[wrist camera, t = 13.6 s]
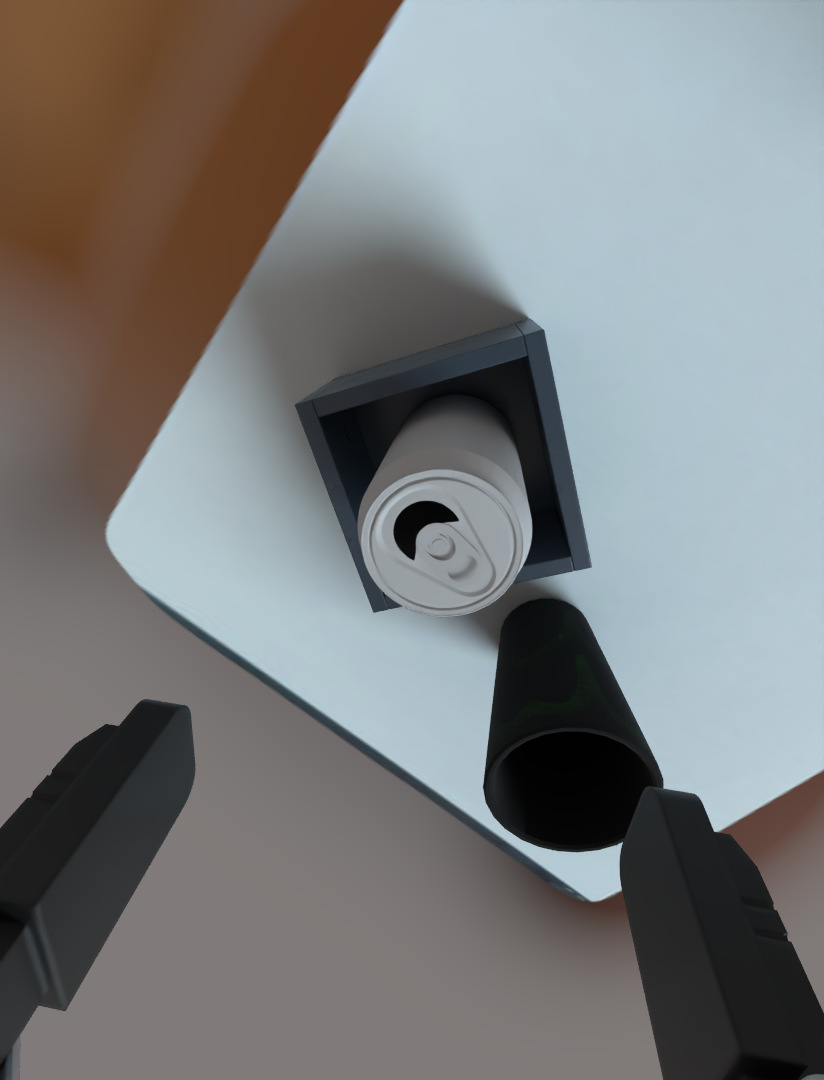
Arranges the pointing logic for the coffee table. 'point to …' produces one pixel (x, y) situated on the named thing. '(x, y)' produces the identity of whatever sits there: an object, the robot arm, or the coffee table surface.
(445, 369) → the open box
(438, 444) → the beverage can
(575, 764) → the cup
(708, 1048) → the robot arm
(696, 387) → the coffee table surface
